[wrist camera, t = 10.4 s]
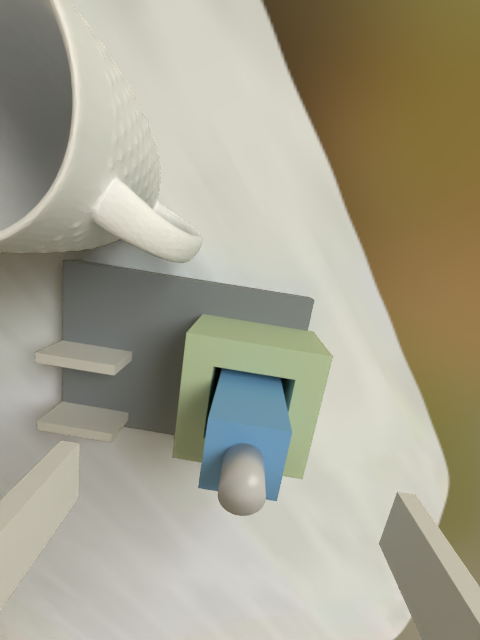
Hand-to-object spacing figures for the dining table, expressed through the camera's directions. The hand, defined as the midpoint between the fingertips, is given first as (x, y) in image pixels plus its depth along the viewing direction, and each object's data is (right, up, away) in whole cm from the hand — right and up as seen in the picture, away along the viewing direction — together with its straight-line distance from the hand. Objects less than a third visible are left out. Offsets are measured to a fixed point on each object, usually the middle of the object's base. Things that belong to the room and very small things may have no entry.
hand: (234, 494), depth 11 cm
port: (+1, +3, +12) cm, 12 cm away
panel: (-5, +4, +13) cm, 15 cm away
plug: (+1, +3, +12) cm, 12 cm away
